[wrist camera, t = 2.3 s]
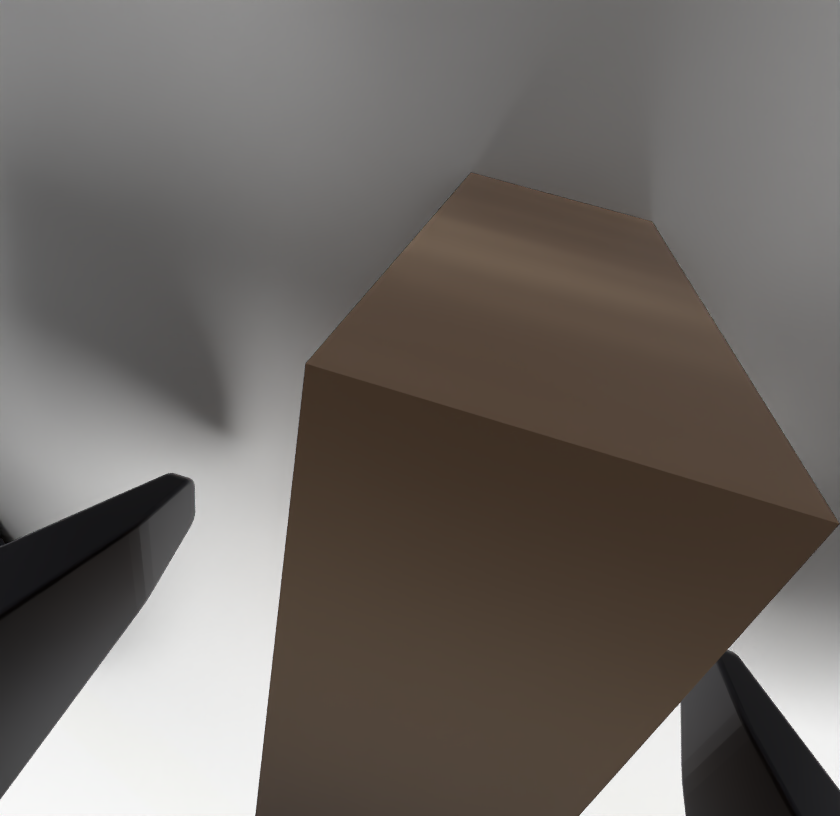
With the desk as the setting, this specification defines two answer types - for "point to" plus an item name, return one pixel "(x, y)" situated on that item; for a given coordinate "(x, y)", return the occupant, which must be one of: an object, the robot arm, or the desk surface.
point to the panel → (517, 519)
